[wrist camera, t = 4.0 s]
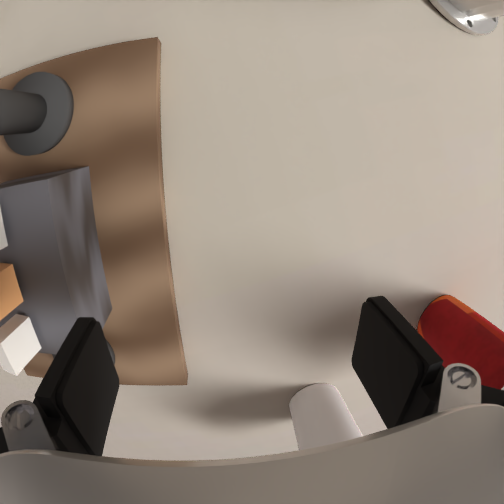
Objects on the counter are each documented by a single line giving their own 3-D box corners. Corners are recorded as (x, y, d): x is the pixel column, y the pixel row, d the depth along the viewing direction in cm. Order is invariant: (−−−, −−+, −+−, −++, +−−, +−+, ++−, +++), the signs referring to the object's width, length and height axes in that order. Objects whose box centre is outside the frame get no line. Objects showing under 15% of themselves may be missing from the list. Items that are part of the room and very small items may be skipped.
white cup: (272, 407, 30) (290, 484, 21) (318, 371, 29) (351, 448, 20) (310, 424, 33) (332, 491, 23) (353, 392, 31) (386, 459, 22)
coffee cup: (403, 356, 30) (472, 452, 17) (413, 295, 27) (510, 392, 13) (456, 335, 31) (527, 411, 17) (469, 277, 28) (562, 349, 14)
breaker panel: (-26, 96, 15) (-82, 96, 8) (161, 43, 17) (138, 3, 10) (32, 366, 25) (6, 413, 18) (187, 374, 27) (185, 436, 20)
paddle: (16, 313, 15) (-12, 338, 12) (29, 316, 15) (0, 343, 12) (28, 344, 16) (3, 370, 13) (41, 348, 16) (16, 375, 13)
